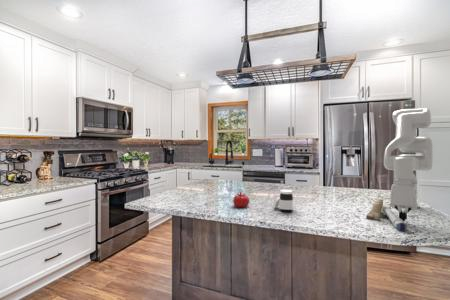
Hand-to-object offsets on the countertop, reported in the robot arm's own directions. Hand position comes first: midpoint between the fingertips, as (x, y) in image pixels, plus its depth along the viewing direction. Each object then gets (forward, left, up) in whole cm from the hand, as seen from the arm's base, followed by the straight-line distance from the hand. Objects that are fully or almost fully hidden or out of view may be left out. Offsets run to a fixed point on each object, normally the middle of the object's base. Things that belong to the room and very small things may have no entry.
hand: (402, 220), depth 116 cm
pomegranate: (+23, -80, -2) cm, 83 cm away
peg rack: (-5, -12, -1) cm, 13 cm away
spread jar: (+14, -56, -2) cm, 58 cm away
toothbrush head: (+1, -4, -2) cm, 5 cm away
